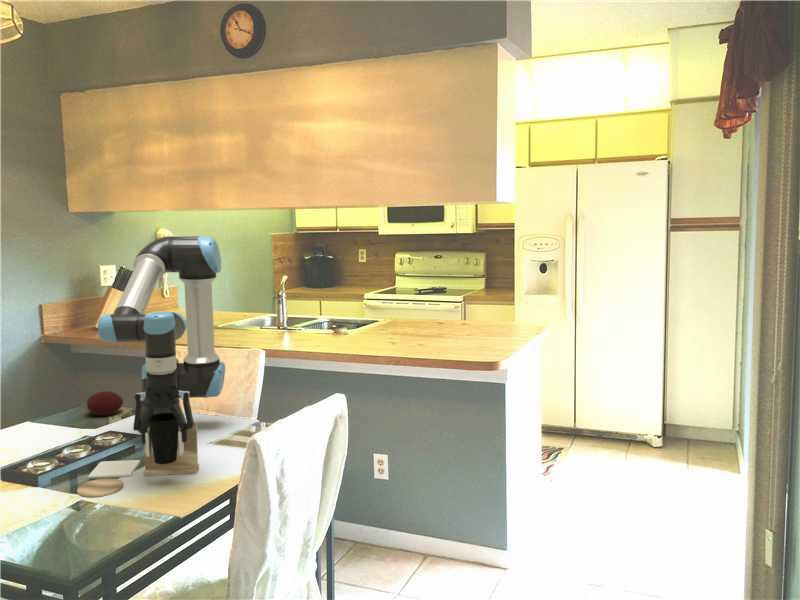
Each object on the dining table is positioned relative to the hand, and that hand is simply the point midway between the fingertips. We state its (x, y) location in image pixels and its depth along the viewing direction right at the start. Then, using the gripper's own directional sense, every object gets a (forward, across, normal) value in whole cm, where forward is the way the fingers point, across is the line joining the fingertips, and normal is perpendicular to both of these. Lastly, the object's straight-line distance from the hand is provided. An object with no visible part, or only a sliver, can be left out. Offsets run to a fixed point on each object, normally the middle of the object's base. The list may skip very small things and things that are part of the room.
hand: (165, 453), depth 175 cm
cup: (+2, 0, 0) cm, 2 cm away
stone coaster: (+8, -16, +10) cm, 21 cm away
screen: (+8, 0, +7) cm, 11 cm away
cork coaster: (+8, -16, -3) cm, 18 cm away
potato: (+10, -35, +66) cm, 76 cm away
